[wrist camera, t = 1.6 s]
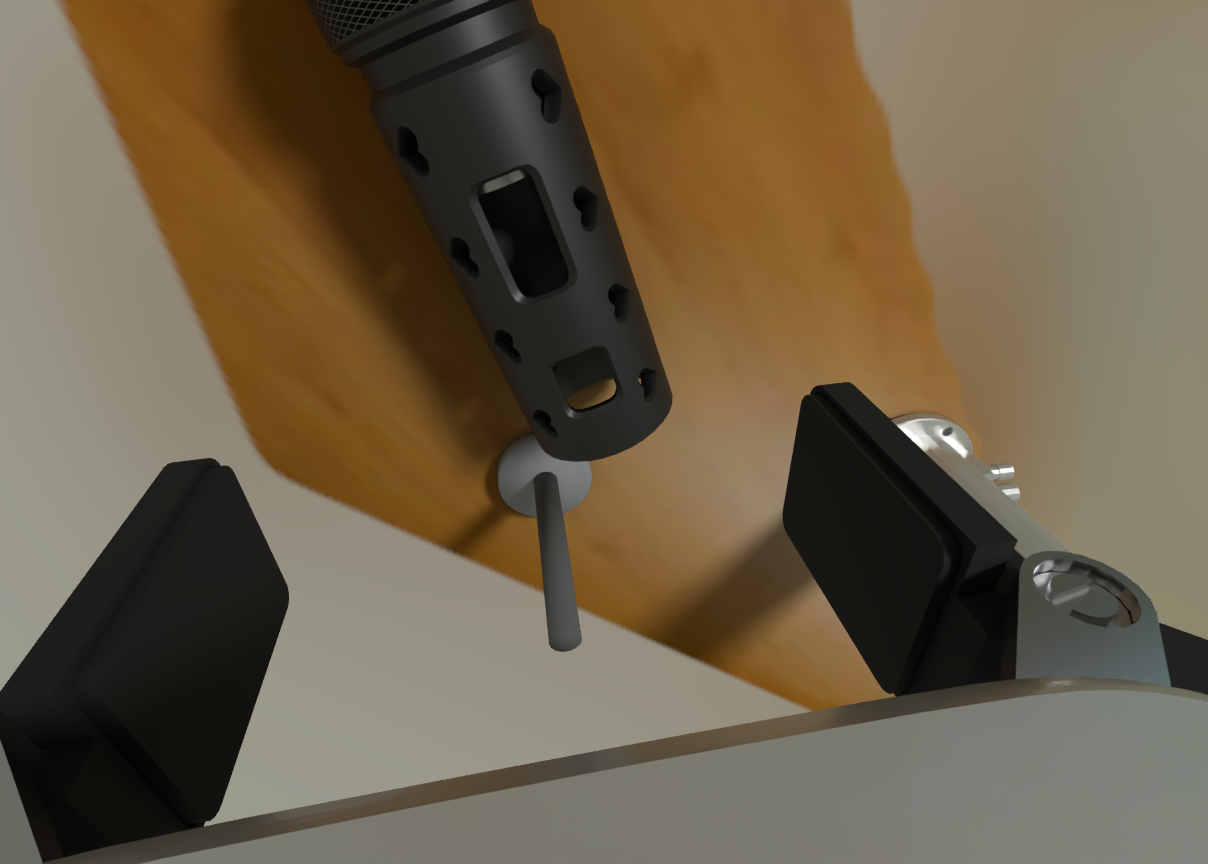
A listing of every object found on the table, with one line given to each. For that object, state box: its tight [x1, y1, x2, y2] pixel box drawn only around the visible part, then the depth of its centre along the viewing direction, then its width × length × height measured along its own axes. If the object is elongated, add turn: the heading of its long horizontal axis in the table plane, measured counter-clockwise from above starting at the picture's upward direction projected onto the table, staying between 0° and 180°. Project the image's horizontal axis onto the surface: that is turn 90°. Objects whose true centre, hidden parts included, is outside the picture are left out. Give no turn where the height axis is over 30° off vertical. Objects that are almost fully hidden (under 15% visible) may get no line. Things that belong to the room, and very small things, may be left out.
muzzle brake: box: [305, 0, 672, 462], centre depth 31 cm, size 10×28×10 cm, turn 19°
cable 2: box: [498, 433, 592, 652], centre depth 40 cm, size 7×7×16 cm
